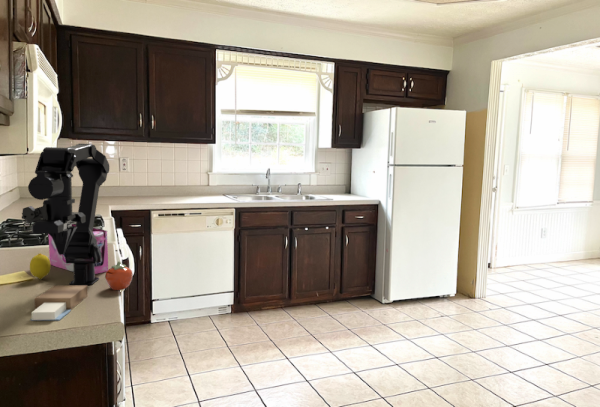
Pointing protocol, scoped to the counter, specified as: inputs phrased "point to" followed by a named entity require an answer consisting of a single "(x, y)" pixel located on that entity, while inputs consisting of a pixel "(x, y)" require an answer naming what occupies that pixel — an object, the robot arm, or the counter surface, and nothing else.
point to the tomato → (119, 276)
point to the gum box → (61, 263)
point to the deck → (63, 295)
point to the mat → (59, 315)
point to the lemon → (40, 266)
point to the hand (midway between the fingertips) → (61, 254)
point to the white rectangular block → (49, 311)
